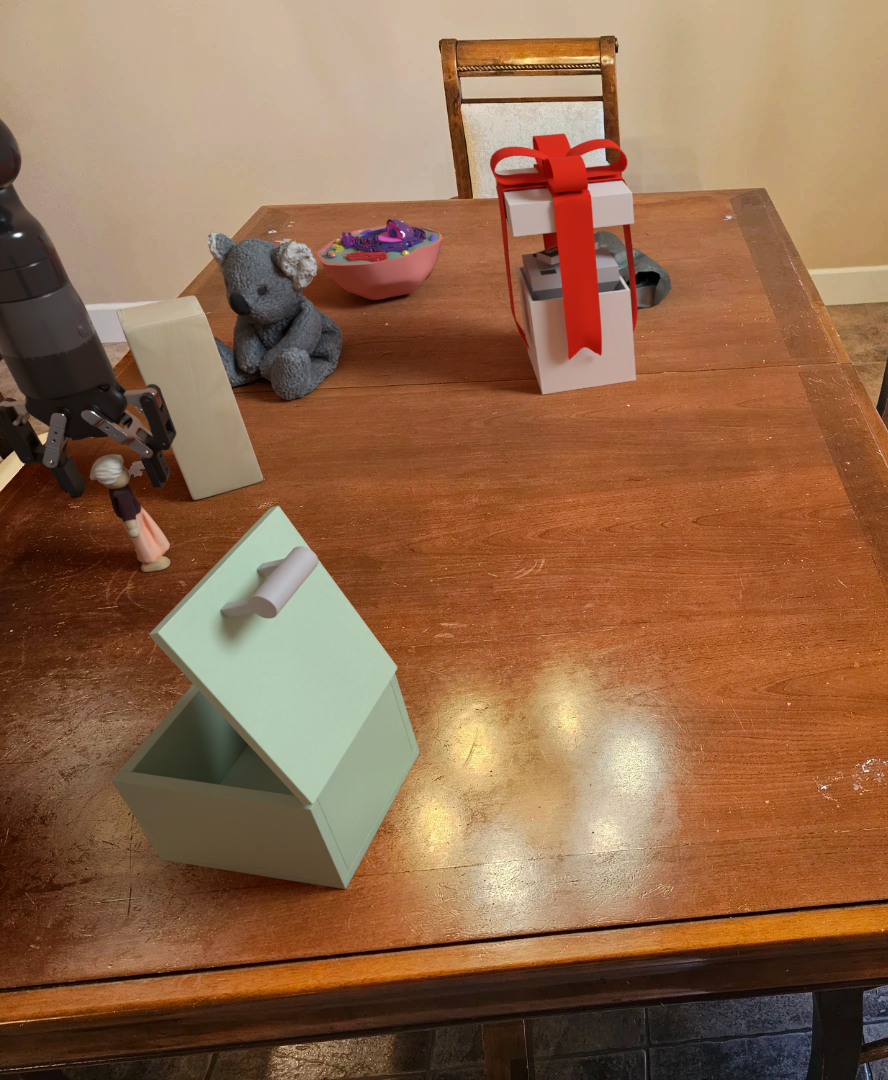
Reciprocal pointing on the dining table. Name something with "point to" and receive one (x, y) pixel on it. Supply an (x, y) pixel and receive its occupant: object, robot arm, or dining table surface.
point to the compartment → (263, 795)
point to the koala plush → (274, 316)
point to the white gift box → (570, 262)
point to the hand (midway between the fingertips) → (120, 488)
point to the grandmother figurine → (132, 513)
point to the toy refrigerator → (192, 394)
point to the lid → (279, 653)
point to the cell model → (382, 259)
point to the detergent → (638, 271)
